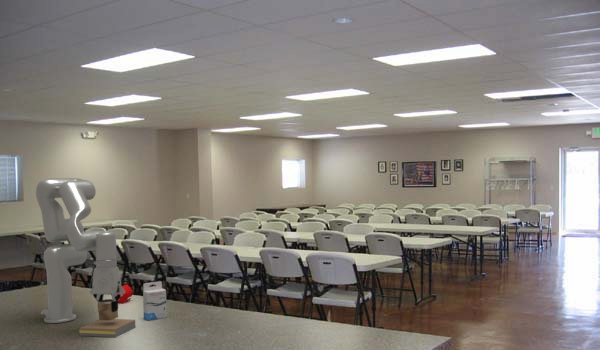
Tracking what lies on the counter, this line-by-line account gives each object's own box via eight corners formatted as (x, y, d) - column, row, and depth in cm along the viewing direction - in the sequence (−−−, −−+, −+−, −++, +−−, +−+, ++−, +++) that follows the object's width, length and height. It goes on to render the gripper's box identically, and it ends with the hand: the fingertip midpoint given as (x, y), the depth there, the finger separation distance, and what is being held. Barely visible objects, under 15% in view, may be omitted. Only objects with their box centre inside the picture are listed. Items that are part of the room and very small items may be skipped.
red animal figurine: (107, 292, 267) (116, 289, 275) (114, 307, 266) (123, 303, 274) (120, 286, 265) (129, 282, 273) (127, 301, 265) (136, 296, 272)
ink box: (147, 320, 231) (146, 285, 231) (143, 318, 236) (142, 283, 236) (167, 317, 236) (166, 282, 236) (163, 315, 240) (162, 280, 240)
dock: (79, 336, 211) (79, 328, 211) (101, 326, 225) (101, 318, 225) (114, 337, 207) (114, 329, 207) (135, 327, 221) (135, 319, 221)
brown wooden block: (99, 320, 214) (97, 302, 214) (106, 317, 219) (105, 299, 219) (110, 320, 213) (109, 301, 213) (118, 317, 218) (117, 299, 218)
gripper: (81, 265, 215) (82, 313, 215) (120, 265, 211) (122, 313, 211) (92, 262, 222) (94, 308, 222) (131, 262, 218) (133, 309, 218)
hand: (108, 310), depth 216 cm, fingers closed on brown wooden block, 5 cm apart
